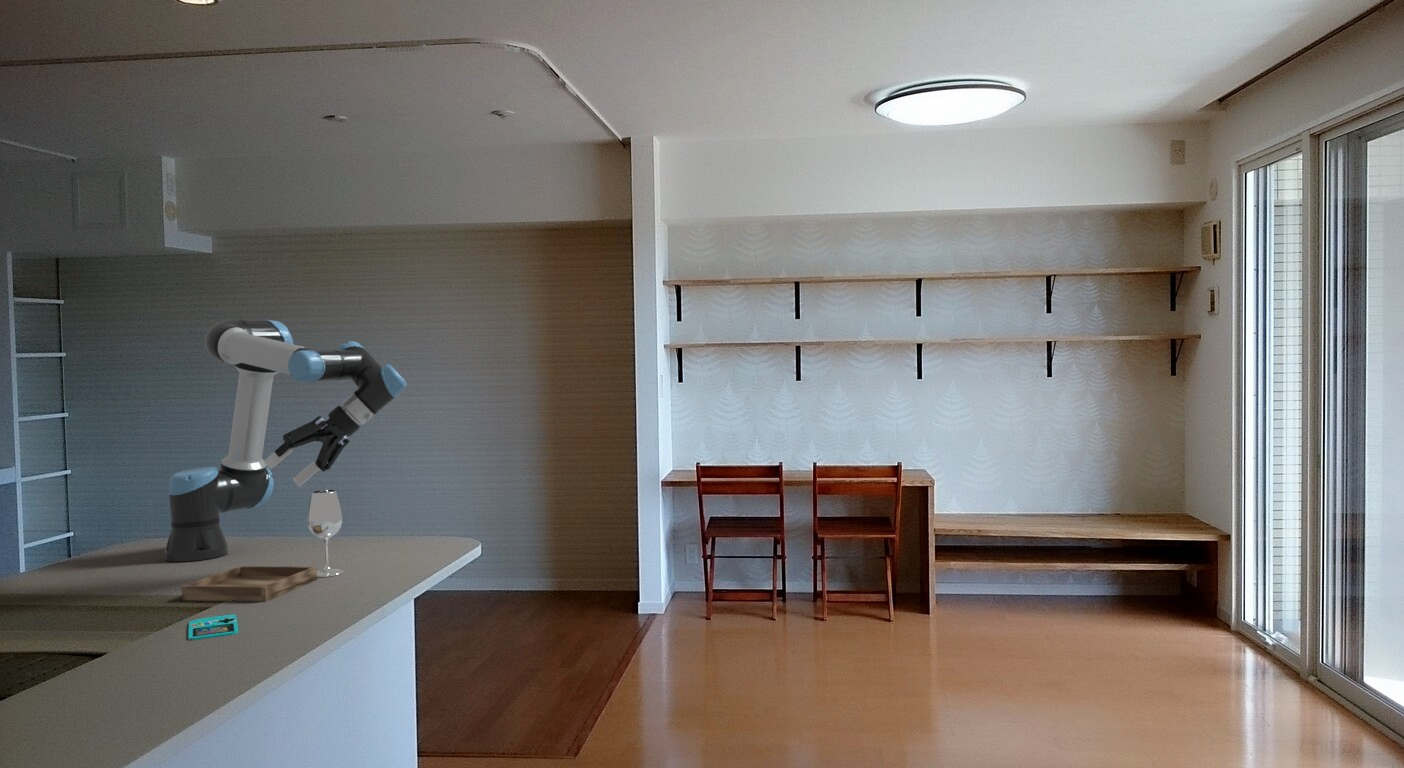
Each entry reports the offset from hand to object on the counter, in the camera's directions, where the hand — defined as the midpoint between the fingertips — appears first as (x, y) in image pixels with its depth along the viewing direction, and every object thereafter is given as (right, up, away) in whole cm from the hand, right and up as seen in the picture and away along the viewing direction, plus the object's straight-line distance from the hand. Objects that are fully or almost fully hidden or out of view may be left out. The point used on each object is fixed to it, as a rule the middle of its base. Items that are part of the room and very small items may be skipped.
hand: (281, 474), depth 238 cm
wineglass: (+12, -24, -2) cm, 27 cm away
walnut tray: (0, -25, -16) cm, 29 cm away
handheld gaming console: (+7, -26, -48) cm, 55 cm away
